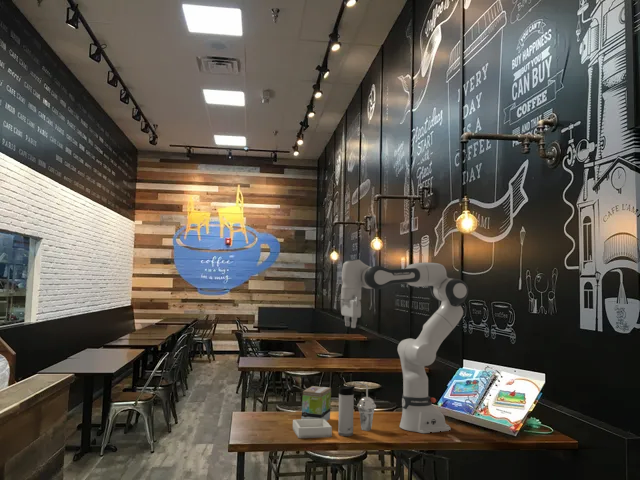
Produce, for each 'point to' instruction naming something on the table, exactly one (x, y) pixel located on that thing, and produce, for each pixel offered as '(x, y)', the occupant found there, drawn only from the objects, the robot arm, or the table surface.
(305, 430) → the tray
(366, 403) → the cup with straw
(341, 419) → the travel mug
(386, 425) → the table surface
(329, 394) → the tea box
